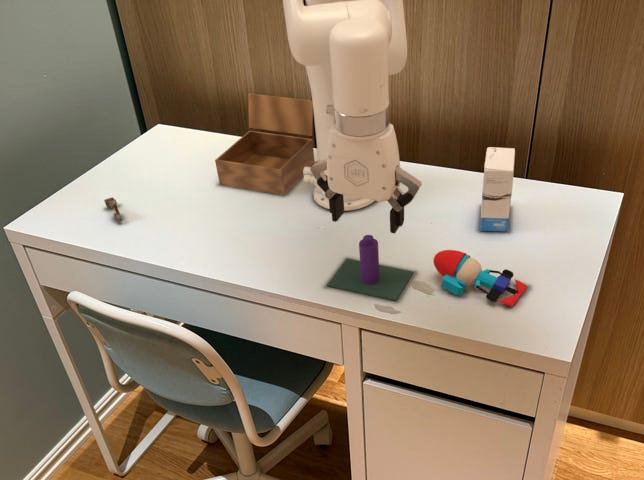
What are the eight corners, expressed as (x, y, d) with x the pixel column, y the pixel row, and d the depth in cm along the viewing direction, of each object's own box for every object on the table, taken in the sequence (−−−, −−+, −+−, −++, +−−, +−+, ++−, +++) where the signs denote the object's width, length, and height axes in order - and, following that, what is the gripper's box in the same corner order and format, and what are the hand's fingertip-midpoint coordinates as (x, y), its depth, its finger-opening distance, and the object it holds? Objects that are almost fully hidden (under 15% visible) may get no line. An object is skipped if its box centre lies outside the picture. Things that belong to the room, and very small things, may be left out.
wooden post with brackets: (116, 223, 134) (108, 199, 132) (111, 221, 141) (103, 198, 139) (126, 220, 134) (117, 196, 133) (120, 218, 142) (112, 196, 140)
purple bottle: (358, 282, 115) (355, 240, 110) (365, 272, 117) (363, 230, 112) (375, 286, 114) (373, 244, 109) (382, 275, 116) (380, 233, 111)
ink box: (508, 232, 123) (514, 170, 115) (479, 231, 124) (483, 169, 116) (509, 207, 129) (515, 146, 122) (481, 206, 130) (485, 145, 123)
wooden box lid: (248, 93, 146) (248, 93, 146) (248, 127, 149) (249, 127, 149) (312, 100, 140) (313, 100, 141) (311, 136, 144) (312, 135, 144)
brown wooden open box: (219, 184, 144) (214, 160, 140) (253, 154, 153) (249, 130, 149) (284, 195, 139) (280, 170, 135) (315, 163, 148) (312, 139, 144)
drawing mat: (327, 286, 116) (326, 284, 116) (346, 259, 121) (346, 258, 121) (396, 301, 112) (395, 299, 111) (413, 273, 117) (413, 271, 117)
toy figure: (526, 291, 113) (442, 255, 118) (534, 269, 109) (446, 232, 114) (507, 321, 109) (421, 282, 114) (514, 299, 105) (424, 260, 110)
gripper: (294, 121, 99) (306, 225, 111) (411, 139, 93) (411, 247, 105) (317, 98, 103) (326, 200, 115) (430, 113, 97) (428, 219, 109)
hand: (366, 222), depth 110 cm, fingers open, 9 cm apart
